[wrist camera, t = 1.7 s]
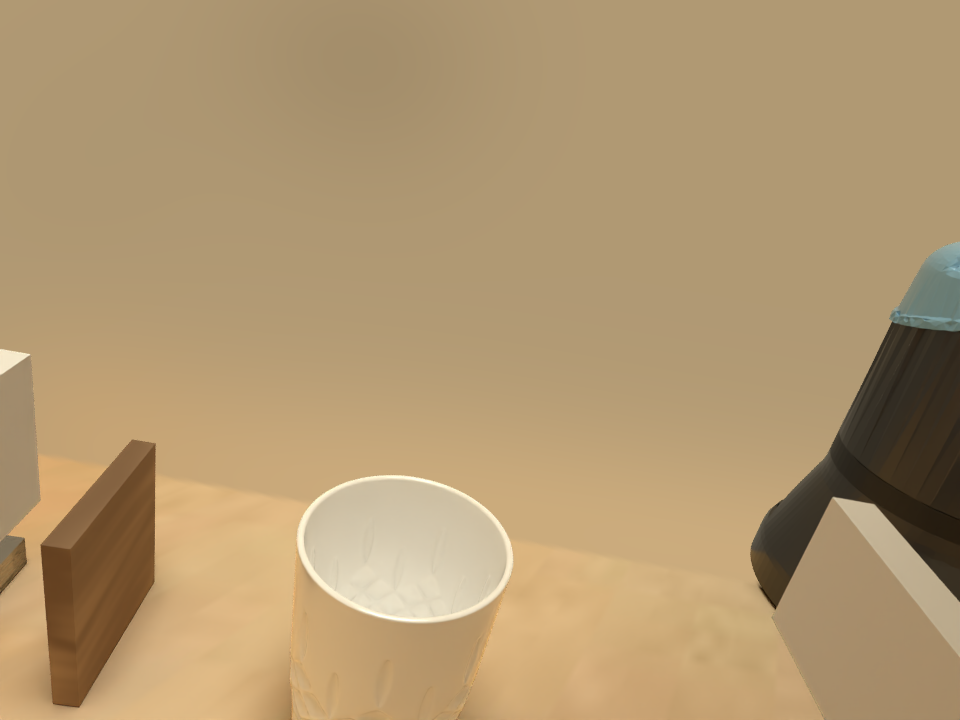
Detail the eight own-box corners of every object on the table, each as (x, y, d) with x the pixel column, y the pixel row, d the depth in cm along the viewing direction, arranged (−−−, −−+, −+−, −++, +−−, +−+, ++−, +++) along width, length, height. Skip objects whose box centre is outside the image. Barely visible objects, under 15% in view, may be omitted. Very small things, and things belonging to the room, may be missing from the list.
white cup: (323, 627, 33) (348, 454, 29) (480, 680, 32) (528, 508, 28) (236, 776, 26) (253, 575, 22) (433, 850, 25) (490, 653, 21)
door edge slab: (154, 581, 34) (155, 443, 30) (79, 707, 27) (70, 549, 24) (133, 578, 34) (132, 439, 30) (53, 703, 27) (40, 544, 24)
